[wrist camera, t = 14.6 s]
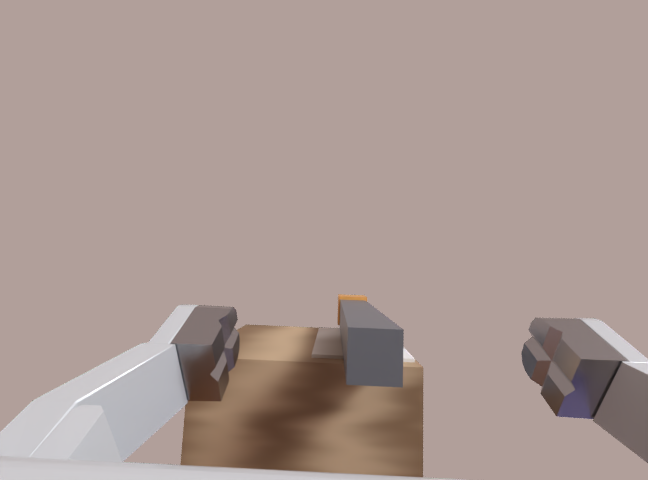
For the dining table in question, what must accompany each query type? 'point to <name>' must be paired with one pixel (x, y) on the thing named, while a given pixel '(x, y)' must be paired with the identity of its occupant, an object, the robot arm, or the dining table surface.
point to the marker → (369, 344)
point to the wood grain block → (306, 411)
